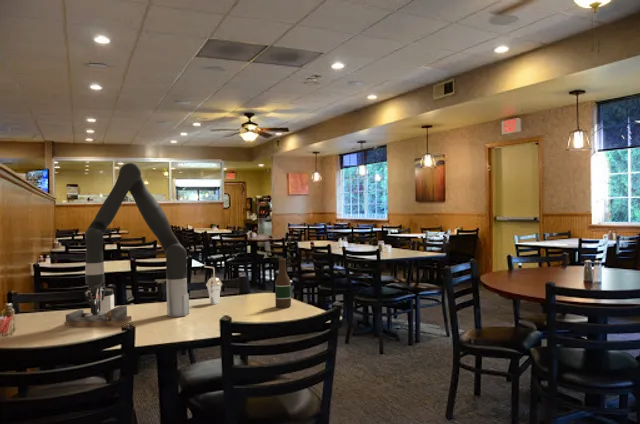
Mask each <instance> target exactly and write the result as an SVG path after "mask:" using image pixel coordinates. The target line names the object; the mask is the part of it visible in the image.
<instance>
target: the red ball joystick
mask: <svg viewBox="0 0 640 424" xmlns="http://www.w3.org/2000/svg"><path fill="white" fill-rule="evenodd" d="M93 297H94V296H93ZM99 298H100V296H99V294H98V298H97V299H96V313H91V312H89V313H90V314H88V315H85V317H107V313H106V312H99ZM93 301H94V299H93Z"/></svg>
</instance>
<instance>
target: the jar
mask: <svg viewBox="0 0 640 424" xmlns="http://www.w3.org/2000/svg"><path fill="white" fill-rule="evenodd" d="M101 298H102V297H101ZM100 304H101V311H99V312H106V313H107V312H108V311H110V310H111V309H114V308H115V294H114V289H113V288H106V290H105V295H104V300H102V302H101V303H100Z"/></svg>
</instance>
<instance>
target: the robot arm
mask: <svg viewBox="0 0 640 424" xmlns="http://www.w3.org/2000/svg"><path fill="white" fill-rule="evenodd" d="M128 193H130V195H131V196H132V198H133V200H134V202H135V204H136V207H137V209H138V210H139V213H140V216H142V218H143V220H144V221H145V223H146V225H147V226H148V228H149V229H150V231H151V232H152V234H153V235H154V236H155V237H156V238H157V240H158V241H159V244H160V245H161V248H162V250H163V252H164V254H165V264H166V265H165V266H166V271H165V273H166V275H165V277H166V279H165V280H166V314H167V315H166V316H167V317H171V318H178V317H185V315H186V316H187V315H189V314H190V296H189V295H190V293H189V292H188V283H187V282H188V255H187V253H188V252H187V250H186V248H185V247H184V246H183V245H182V244H181V243H180V240H179V239H178V238H177V237H176V235H175V234H174V231H173V230H172V227H171V225H170V223H169V220H168V218H167V216H166V214H165V212H164V210H163V209H162V207H161V205H160V204H159V202H158V201H157V200H156V198H155V197H154V195H153V194H152V193H151V192H150V191H149V189H148V187H146V185H145V183H144V179H143V178H142V170H141V168H140V166H138V165H137V164H136V163H133V162H129V163H124V164H123V165H122V166H121V167H120V169H119V172H118V176H117V179H116V181H115V183H114V186H113V188H112V189H111V191H110V192H109V194H108V195H107V197H106V198H105V200H104V202H103V203H102V204H101V206H100V208H99V209H98V211H97V212H96V215H95V218H94V219H93V221H92V222H91V223H90V225H89V226H88V227H87V229H86V230H85V233H84V238H85V247H86V248H85V249H86V251H85V268H84V273H85V274H84V275H85V276H84V277H85V285H88V286H87V291H84V293H83V295H84V298H85V301H86V305H89V306H90V313H96V299H97V298H98V294H99V296H100V298H99V311H101V304H100V303H101V302H102V300H104V295H105V290H106V289H107V287H104V286H103V284H104V283H105V267H104V266H105V265H104V250H103V247H104V234H105V232H106V230H107V228H108V227H109V226H110V225H111V223H112V222H113V221H114V219H115V217H116V215H117V214H118V211H119V209H120V208H121V206H122V204H123V202H124V199H125V198H126V196H127V194H128ZM93 296H94V297H93ZM101 297H102V298H101ZM93 299H94V301H93Z"/></svg>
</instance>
